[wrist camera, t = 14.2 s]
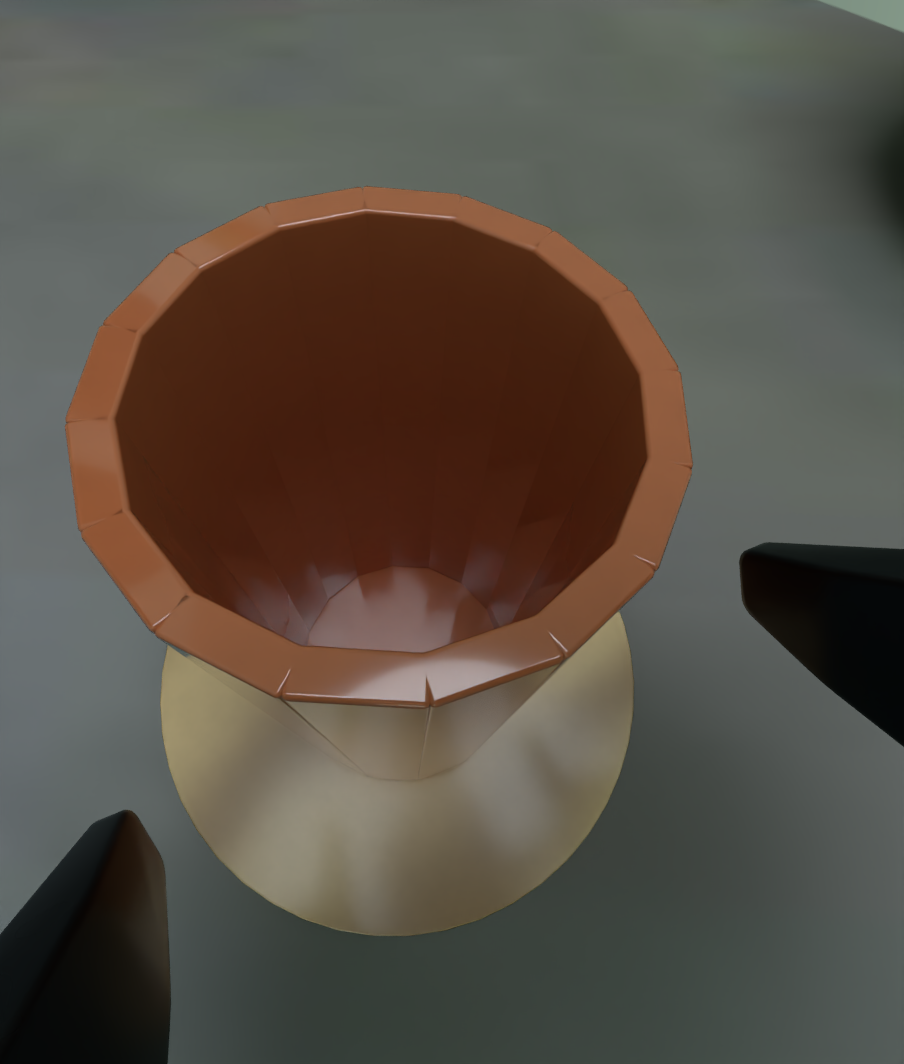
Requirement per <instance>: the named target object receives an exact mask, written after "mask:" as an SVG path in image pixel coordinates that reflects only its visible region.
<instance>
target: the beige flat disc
mask: <svg viewBox="0 0 904 1064" xmlns="http://www.w3.org/2000/svg"><path fill="white" fill-rule="evenodd" d="M633 705H634V678H633V669H632V660H631V651H630V647H629V643H628V639H627V635H626V631H625V627H624V623H623V620H622V617H621V615H620V612H619V611H618V612H617V613H616V614H615V615H614V616H613V617H612V618H611V619H610V620H609V621H608V622H607V623H606V624H605V625H604V626H603V627H602V628H601V629H600V630H599V631H598V632H597V633H596V634H595V635H594V636H593V637H592V638H591V639H590V640H589V641H588V642H587V643H586V644H585V645H584V646H583V647H582V648H581V649H580V650H579V651H578V652H577V653H576V654H575V655H574V656H573V657H572V658H571V659H570V660H569V661H568V662H567V663H566V664H565V665H564V666H563V667H562V668H561V669H559V670H558V671H557V672H556V673H555V674H554V675H553V676H552V677H551V678H550V679H549V680H548V681H547V682H546V683H545V684H544V685H543V686H542V687H541V688H540V689H539V690H538V691H537V692H536V693H535V694H534V695H533V696H532V697H531V698H530V699H529V700H528V701H527V702H526V703H525V704H524V705H523V706H522V707H521V708H520V709H519V710H518V711H517V712H516V713H515V714H514V715H513V716H512V717H511V718H510V719H509V720H508V721H507V722H506V723H505V724H504V725H503V726H502V727H501V728H500V729H499V730H498V731H497V732H496V733H495V734H493V735H492V736H491V737H490V738H489V739H488V740H487V741H486V742H485V743H484V744H483V745H482V746H481V747H480V748H479V749H478V750H477V751H476V752H475V753H474V754H473V755H472V756H471V757H470V758H469V759H468V760H467V761H466V762H463V763H462V764H460V765H458V766H455V767H452V768H450V769H448V770H446V771H444V772H442V773H439V774H436V775H432V776H429V777H426V778H423V779H421V780H418V779H417V780H388V779H380V778H370V777H366V776H364V775H363V774H361V773H359V772H357V771H355V770H353V769H350V768H348V767H347V766H345V765H343V764H342V763H340V762H338V761H336V760H334V759H332V758H330V757H328V756H327V755H325V754H324V753H322V752H321V751H319V750H318V749H316V748H315V747H314V746H312V745H311V744H309V743H308V742H306V741H305V740H304V739H302V738H301V737H299V736H298V735H296V734H295V733H293V732H292V731H291V730H289V729H288V728H286V727H285V726H283V725H282V724H281V723H279V722H278V721H276V720H275V719H273V718H272V717H271V716H269V715H268V714H266V713H265V712H263V711H262V710H260V709H259V708H258V707H256V706H255V705H253V704H252V703H250V702H249V701H248V700H246V699H245V698H243V697H242V696H240V695H239V694H237V693H236V692H235V691H233V690H232V689H230V688H229V687H227V686H226V685H225V684H223V683H222V682H220V681H219V680H217V679H216V678H214V677H213V676H212V675H210V674H209V673H207V672H206V671H204V670H203V669H202V668H200V667H199V666H197V665H196V664H194V663H193V662H192V661H190V660H189V659H187V658H186V657H184V656H183V655H181V654H180V653H179V652H177V651H176V650H174V649H173V648H171V647H170V646H169V645H168V647H167V652H166V657H165V661H164V666H163V671H162V686H161V700H160V707H161V722H162V736H163V741H164V746H165V751H166V756H167V760H168V765H169V769H170V772H171V775H172V778H173V780H174V783H175V786H176V789H177V791H178V794H179V797H180V800H181V802H182V804H183V805H184V807H185V809H186V811H187V813H188V815H189V817H190V818H191V820H192V822H193V824H194V826H195V828H196V830H197V831H198V832H199V834H200V835H201V836H202V838H203V839H204V840H205V842H206V843H207V844H208V846H209V847H210V848H211V850H212V851H213V852H214V854H215V855H216V856H217V858H218V859H219V860H220V861H221V862H222V863H223V864H224V865H225V866H226V867H227V868H228V869H229V870H230V871H231V872H232V873H233V874H234V875H235V876H237V877H238V878H239V879H240V880H241V881H242V882H243V883H244V884H245V885H247V886H248V887H250V888H251V889H252V890H254V891H255V892H257V893H258V894H259V895H261V896H262V897H264V898H265V899H266V900H268V901H269V902H270V903H272V904H274V905H276V906H278V907H280V908H282V909H284V910H286V911H288V912H290V913H292V914H294V915H296V916H298V917H300V918H302V919H304V920H307V921H310V922H313V923H316V924H320V925H323V926H326V927H329V928H332V929H335V930H339V931H345V932H351V933H358V934H364V935H371V936H413V935H419V934H426V933H432V932H439V931H445V930H449V929H452V928H455V927H458V926H461V925H465V924H468V923H471V922H474V921H477V920H480V919H482V918H484V917H487V916H489V915H491V914H493V913H495V912H497V911H499V910H501V909H503V908H505V907H507V906H509V905H511V904H513V903H514V902H516V901H517V900H519V899H520V898H522V897H523V896H525V895H526V894H528V893H529V892H531V891H532V890H533V889H535V888H536V887H538V886H539V885H541V884H542V883H543V882H544V881H545V880H546V879H547V878H549V877H550V876H551V875H552V874H553V873H554V872H555V871H556V870H557V869H558V868H559V867H561V866H562V865H563V864H564V863H565V862H566V861H567V860H568V859H569V858H570V856H571V855H572V854H573V853H574V852H575V850H576V849H577V848H578V847H579V845H580V844H581V843H582V842H583V841H584V839H585V838H586V837H587V836H588V834H589V833H590V831H591V830H592V828H593V826H594V825H595V823H596V822H597V820H598V818H599V817H600V815H601V813H602V812H603V810H604V808H605V807H606V805H607V803H608V801H609V798H610V796H611V794H612V792H613V789H614V787H615V785H616V782H617V780H618V778H619V776H620V773H621V769H622V766H623V762H624V759H625V755H626V752H627V748H628V745H629V739H630V732H631V725H632V718H633Z"/></svg>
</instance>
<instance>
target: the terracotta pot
mask: <svg viewBox="0 0 904 1064" xmlns="http://www.w3.org/2000/svg"><path fill="white" fill-rule="evenodd" d="M65 431H66V438H67V446H68V454H69V462H70V469H71V477H72V485H73V493H74V501H75V508H76V516H77V524H78V529H79V531H80V532H81V535H82V539H83V541H84V542H85V543H86V545H87V546H88V547H89V549H90V550H91V552H92V553H93V554H94V556H95V557H96V558H97V560H98V561H99V563H100V564H101V565H102V567H103V568H104V569H105V571H106V572H107V573H108V575H109V576H110V578H111V579H112V580H113V582H114V583H115V584H116V586H117V587H118V588H119V590H120V591H121V593H122V594H123V595H124V597H125V598H126V599H127V601H128V602H129V603H130V605H131V606H132V608H133V609H134V610H135V612H136V613H137V614H138V616H139V617H140V618H141V620H142V621H143V623H144V624H145V625H146V627H147V628H148V629H149V631H151V632H152V633H154V634H155V635H156V637H157V638H158V639H160V640H161V641H163V642H164V643H166V644H167V645H169V646H170V647H171V648H173V649H174V650H176V651H177V652H179V653H180V654H181V655H183V656H184V657H186V658H187V659H189V660H190V661H192V662H193V663H194V664H196V665H197V666H199V667H200V668H202V669H203V670H204V671H206V672H207V673H209V674H210V675H212V676H213V677H214V678H216V679H217V680H219V681H220V682H222V683H223V684H225V685H226V686H227V687H229V688H230V689H232V690H233V691H235V692H236V693H237V694H239V695H240V696H242V697H243V698H245V699H246V700H248V701H249V702H250V703H252V704H253V705H255V706H256V707H258V708H259V709H260V710H262V711H263V712H265V713H266V714H268V715H269V716H271V717H272V718H273V719H275V720H276V721H278V722H279V723H281V724H282V725H283V726H285V727H286V728H288V729H289V730H291V731H292V732H293V733H295V734H296V735H298V736H299V737H301V738H302V739H304V740H305V741H306V742H308V743H309V744H311V745H312V746H314V747H315V748H316V749H318V750H319V751H321V752H322V753H324V754H325V755H327V756H328V757H330V758H332V759H334V760H336V761H338V762H340V763H342V764H343V765H345V766H347V767H348V768H350V769H353V770H355V771H357V772H359V773H361V774H363V775H364V776H366V777H370V778H380V779H388V780H417V779H418V780H421V779H423V778H426V777H429V776H432V775H436V774H439V773H442V772H444V771H446V770H448V769H450V768H452V767H455V766H458V765H460V764H462V763H463V762H466V761H467V760H468V759H469V758H470V757H471V756H472V755H473V754H474V753H475V752H476V751H477V750H478V749H479V748H480V747H481V746H482V745H483V744H484V743H485V742H486V741H487V740H488V739H489V738H490V737H491V736H492V735H493V734H495V733H496V732H497V731H498V730H499V729H500V728H501V727H502V726H503V725H504V724H505V723H506V722H507V721H508V720H509V719H510V718H511V717H512V716H513V715H514V714H515V713H516V712H517V711H518V710H519V709H520V708H521V707H522V706H523V705H524V704H525V703H526V702H527V701H528V700H529V699H530V698H531V697H532V696H533V695H534V694H535V693H536V692H537V691H538V690H539V689H540V688H541V687H542V686H543V685H544V684H545V683H546V682H547V681H548V680H549V679H550V678H551V677H552V676H553V675H554V674H555V673H556V672H557V671H558V670H559V669H561V668H562V667H563V666H564V665H565V664H566V663H567V662H568V661H569V660H570V659H571V658H572V657H573V656H574V655H575V654H576V653H577V652H578V651H579V650H580V649H581V648H582V647H583V646H584V645H585V644H586V643H587V642H588V641H589V640H590V639H591V638H592V637H593V636H594V635H595V634H596V633H597V632H598V631H599V630H600V629H601V628H602V627H603V626H604V625H605V624H606V623H607V622H608V621H609V620H610V619H611V618H612V617H613V616H614V615H615V614H616V613H617V612H618V611H619V610H620V609H621V608H622V607H623V606H624V605H625V604H626V603H627V602H628V601H630V600H631V599H632V598H633V597H634V596H635V595H636V594H637V593H638V592H639V591H640V590H641V589H642V588H643V587H644V586H645V585H646V584H647V583H648V582H649V581H650V580H651V579H652V578H653V576H654V573H655V572H656V571H657V570H658V569H659V566H660V563H661V561H662V558H663V555H664V552H665V549H666V546H667V543H668V541H669V538H670V535H671V532H672V529H673V526H674V524H675V521H676V518H677V515H678V512H679V509H680V507H681V504H682V501H683V498H684V495H685V492H686V489H687V487H688V484H689V481H690V478H691V475H692V470H691V469H692V466H693V462H692V454H691V446H690V439H689V431H688V424H687V416H686V408H685V401H684V393H683V386H682V378H681V373H680V372H679V371H678V365H677V364H676V362H675V361H674V359H673V357H672V356H671V354H670V353H669V351H668V349H667V348H666V346H665V344H664V343H663V341H662V340H661V338H660V336H659V335H658V333H657V331H656V330H655V328H654V327H653V325H652V323H651V322H650V320H649V319H648V317H647V315H646V314H645V312H644V310H643V309H642V307H641V306H640V304H639V302H638V301H637V299H636V298H635V296H634V294H633V293H632V292H631V291H630V290H628V288H627V286H626V285H625V284H623V283H622V282H621V281H620V280H618V279H617V278H616V277H614V276H613V275H612V274H611V273H609V272H608V271H607V270H606V269H604V268H603V267H602V266H600V265H599V264H598V263H597V262H595V261H594V260H593V259H591V258H590V257H589V256H588V255H586V254H585V253H584V252H582V251H581V250H580V249H579V248H577V247H576V246H575V245H573V244H572V243H571V242H570V241H568V240H567V239H566V238H564V237H563V236H562V235H561V234H559V233H558V232H556V231H552V229H551V228H549V227H546V226H544V225H541V224H538V223H536V222H533V221H531V220H528V219H525V218H523V217H520V216H517V215H515V214H512V213H509V212H507V211H504V210H501V209H499V208H496V207H493V206H491V205H488V204H485V203H483V202H480V201H477V200H475V199H472V198H469V197H467V196H463V197H461V195H459V194H452V193H441V192H429V191H418V190H406V189H395V188H383V187H372V186H365V187H363V189H362V188H361V187H355V188H349V189H344V190H338V191H333V192H327V193H322V194H316V195H311V196H306V197H300V198H295V199H289V200H284V201H278V202H273V203H268V204H266V205H265V207H263V206H259V207H257V208H255V209H253V210H251V211H249V212H247V213H245V214H243V215H241V216H239V217H237V218H235V219H233V220H231V221H229V222H227V223H225V224H223V225H221V226H219V227H217V228H215V229H213V230H211V231H209V232H207V233H205V234H203V235H201V236H199V237H197V238H195V239H194V240H192V241H190V242H188V243H186V244H184V245H182V246H180V247H178V248H176V249H175V250H174V253H172V252H171V253H169V254H168V255H167V256H166V257H165V258H164V259H163V260H162V261H161V262H160V263H159V264H158V265H157V266H156V267H155V269H154V270H153V271H152V272H151V273H150V274H149V275H148V276H147V277H146V278H145V279H144V280H143V281H142V282H141V283H140V284H139V285H138V286H137V287H136V288H135V289H134V290H133V291H132V292H131V293H130V294H129V296H128V297H127V298H126V299H125V300H124V301H123V302H122V303H121V304H120V305H119V306H118V307H117V308H116V309H115V310H114V311H113V312H112V313H111V314H110V315H109V316H108V317H107V318H106V319H105V320H104V323H103V325H102V326H100V327H99V329H98V332H97V335H96V337H95V340H94V343H93V345H92V348H91V351H90V353H89V356H88V359H87V361H86V364H85V367H84V369H83V372H82V375H81V377H80V380H79V383H78V386H77V388H76V391H75V394H74V396H73V399H72V402H71V404H70V407H69V410H68V412H67V415H66V425H65Z"/></svg>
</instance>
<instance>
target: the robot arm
mask: <svg viewBox="0 0 904 1064" xmlns="http://www.w3.org/2000/svg"><path fill="white" fill-rule="evenodd" d="M739 565H740V580H741V594H742V601H743V604H744V606H745V608H746V610H747V611H748V613H749V614H750V615H751V616H752V617H753V618H754V619H755V620H756V621H757V622H758V623H759V624H760V625H762V626H763V627H764V628H765V629H766V630H767V631H768V632H769V633H770V634H771V635H772V636H773V637H774V638H775V639H776V640H777V641H778V642H780V643H781V644H782V645H783V646H784V647H785V648H786V649H787V650H788V651H789V652H790V653H791V654H792V655H793V656H794V657H795V658H796V659H798V660H799V661H800V662H801V663H802V664H803V665H804V666H805V667H806V668H807V669H808V670H809V671H810V672H811V673H812V674H814V675H815V676H816V677H817V678H818V679H819V680H820V681H821V682H822V683H824V684H825V685H826V686H827V687H828V688H830V689H831V690H832V691H833V692H835V693H836V694H837V695H838V696H840V697H841V698H842V699H843V700H845V701H846V702H847V703H848V704H850V705H851V706H852V707H854V708H855V709H856V710H857V711H859V712H860V713H861V714H862V715H864V716H865V717H866V718H868V719H869V720H870V721H871V722H873V723H874V724H875V725H877V726H878V727H879V728H880V729H882V730H883V731H884V732H885V733H887V734H888V735H889V736H891V737H892V738H893V739H894V740H896V741H897V742H898V743H899V744H901V745H902V746H903V747H904V549H889V548H869V547H850V546H830V545H810V544H791V543H771V542H768V543H762V544H760V545H758V546H755V547H753V548H751V549H748V550H746V551H744V552H743V553H742V554H741V557H740V560H739ZM170 1010H171V984H170V960H169V939H168V918H167V897H166V876H165V868H164V864H163V860H162V858H161V855H160V853H159V851H158V850H157V848H156V846H155V845H154V843H153V841H152V840H151V838H150V837H149V835H148V833H147V832H146V830H145V828H144V827H143V825H142V823H141V822H140V820H139V818H138V817H137V815H136V814H135V813H133V812H132V811H130V810H123V811H120V812H118V813H115V814H113V815H111V816H108V817H106V818H103V819H101V820H99V821H96V822H95V823H93V824H92V825H91V826H90V827H89V828H88V830H87V831H86V832H85V833H84V834H83V836H82V837H81V838H80V839H79V840H78V842H77V843H76V844H75V845H74V846H73V848H72V849H71V850H70V851H69V852H68V854H67V855H66V856H65V857H64V858H63V860H62V861H61V862H60V863H59V864H58V866H57V867H56V868H55V869H54V870H53V872H52V873H51V874H50V875H49V876H48V878H47V879H46V880H45V881H44V882H43V884H42V885H41V886H40V887H39V888H38V890H37V891H36V892H35V893H34V894H33V896H32V897H31V898H30V899H29V900H28V902H27V903H26V904H25V905H24V906H23V908H22V909H21V910H20V911H19V912H18V914H17V915H16V916H15V917H14V918H13V920H12V921H11V922H10V923H9V925H8V926H7V927H6V928H5V929H4V931H3V932H2V933H1V934H0V1064H167V1063H168V1047H169V1032H170Z"/></svg>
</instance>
